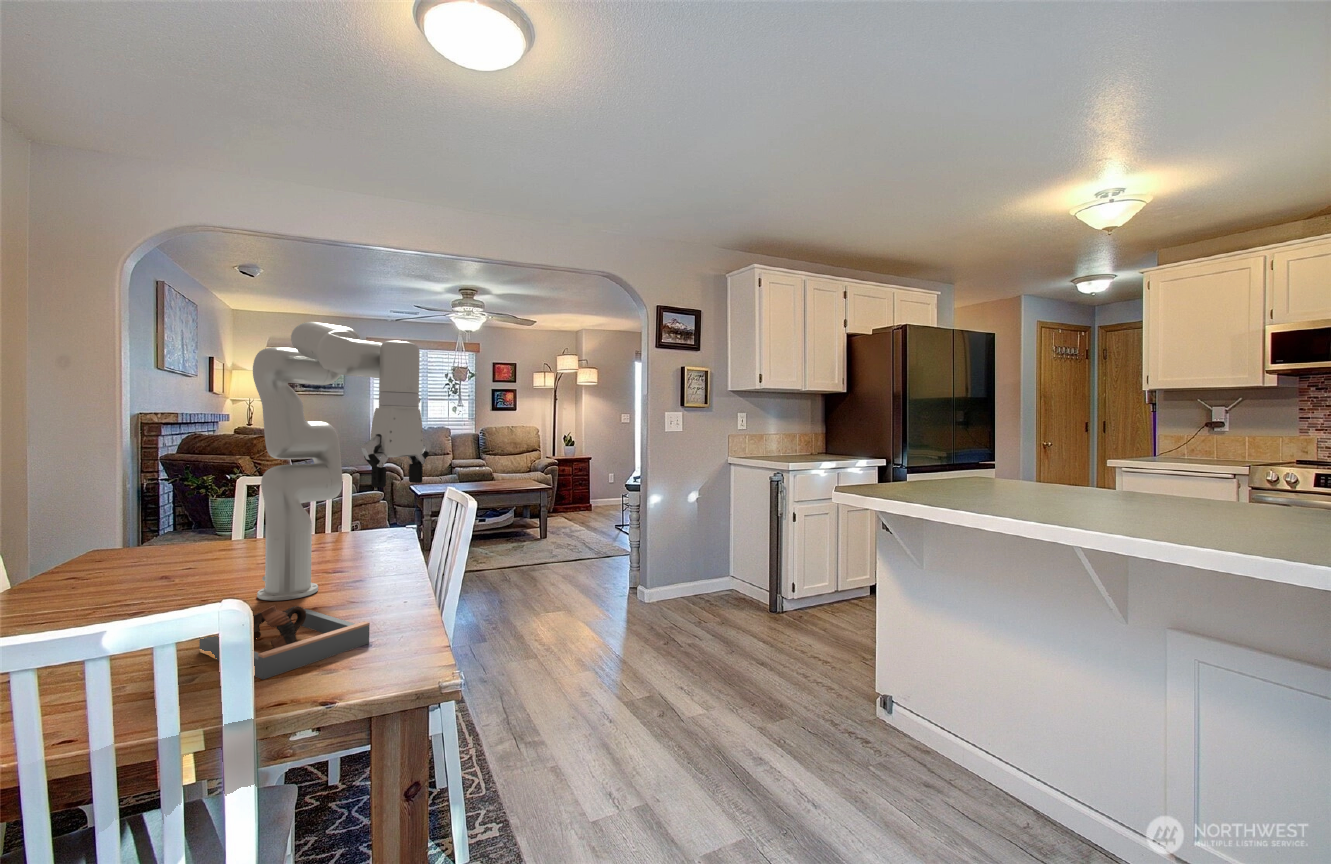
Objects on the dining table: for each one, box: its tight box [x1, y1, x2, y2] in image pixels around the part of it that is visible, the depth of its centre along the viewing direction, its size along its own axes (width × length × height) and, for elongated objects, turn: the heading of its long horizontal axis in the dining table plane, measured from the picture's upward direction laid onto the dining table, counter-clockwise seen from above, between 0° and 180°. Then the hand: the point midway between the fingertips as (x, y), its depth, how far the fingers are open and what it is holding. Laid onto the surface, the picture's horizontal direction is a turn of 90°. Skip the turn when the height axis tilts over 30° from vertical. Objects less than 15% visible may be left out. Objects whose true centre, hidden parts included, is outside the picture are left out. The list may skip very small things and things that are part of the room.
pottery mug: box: [253, 605, 306, 649], centre depth 113 cm, size 12×10×8 cm
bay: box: [198, 608, 371, 680], centre depth 111 cm, size 22×19×4 cm
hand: (397, 484), depth 122 cm, fingers open, 9 cm apart
